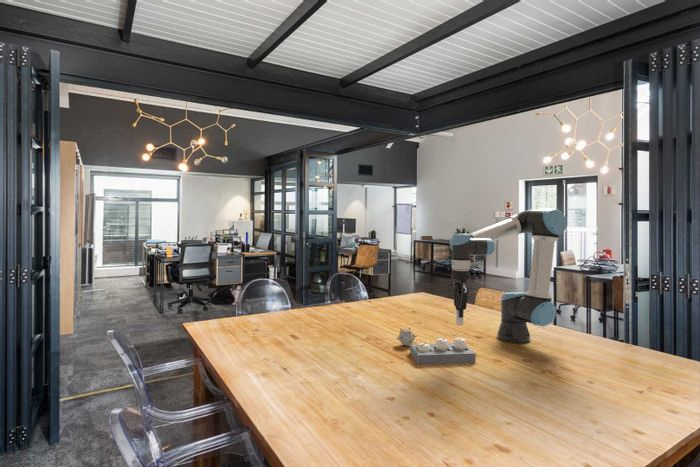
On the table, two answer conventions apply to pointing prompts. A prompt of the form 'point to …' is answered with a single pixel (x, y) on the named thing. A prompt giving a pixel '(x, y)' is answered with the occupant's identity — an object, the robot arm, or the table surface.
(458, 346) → the button
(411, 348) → the button board
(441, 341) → the button
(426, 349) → the button
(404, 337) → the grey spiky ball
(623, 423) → the table surface
